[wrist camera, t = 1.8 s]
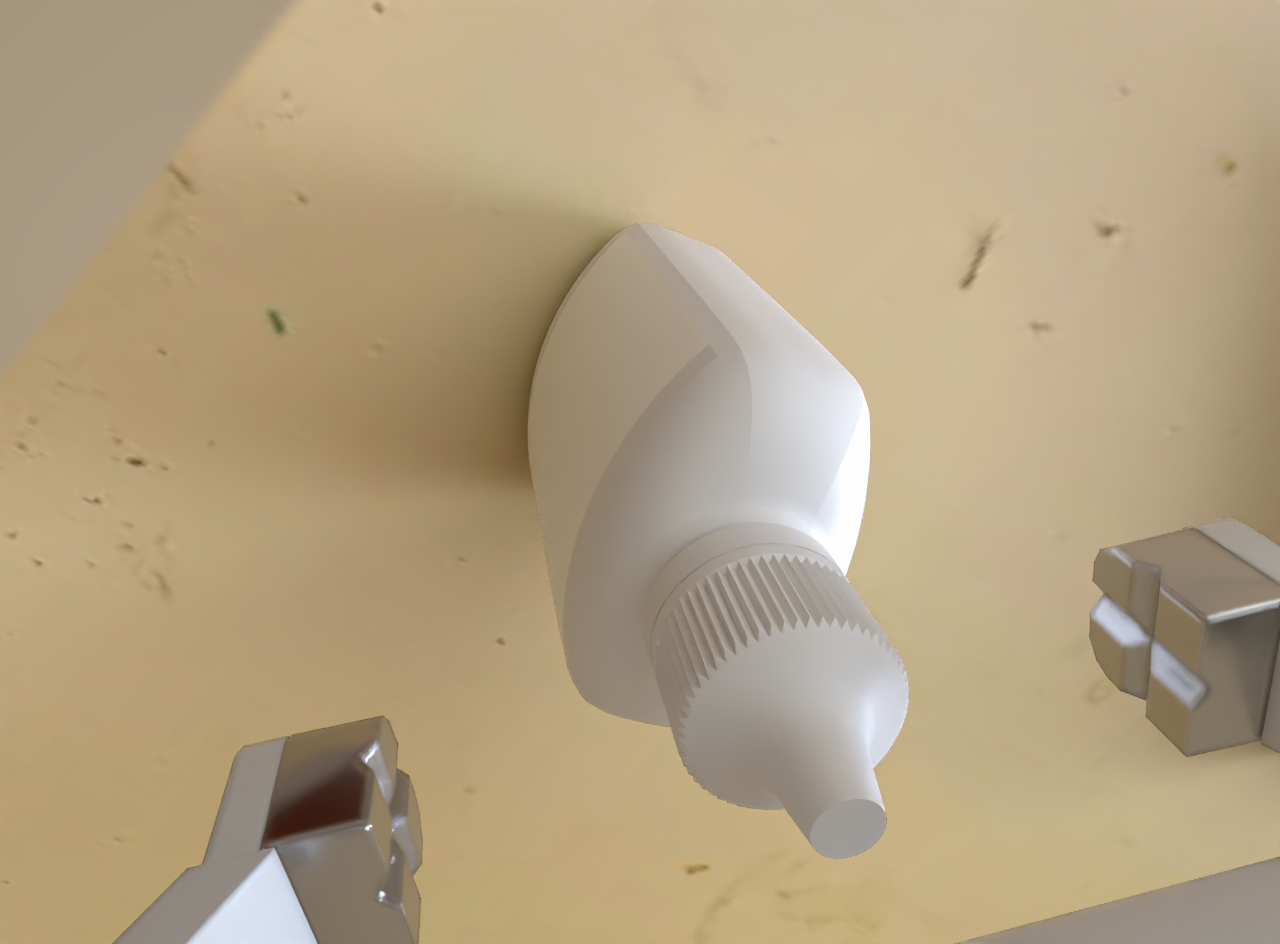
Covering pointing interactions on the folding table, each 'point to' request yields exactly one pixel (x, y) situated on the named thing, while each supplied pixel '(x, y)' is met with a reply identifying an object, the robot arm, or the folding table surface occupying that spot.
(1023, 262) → the folding table surface
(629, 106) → the folding table surface
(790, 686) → the eye dropper bottle
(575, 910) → the folding table surface
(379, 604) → the folding table surface
